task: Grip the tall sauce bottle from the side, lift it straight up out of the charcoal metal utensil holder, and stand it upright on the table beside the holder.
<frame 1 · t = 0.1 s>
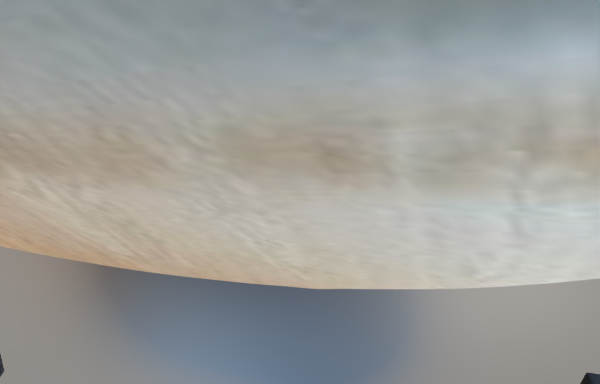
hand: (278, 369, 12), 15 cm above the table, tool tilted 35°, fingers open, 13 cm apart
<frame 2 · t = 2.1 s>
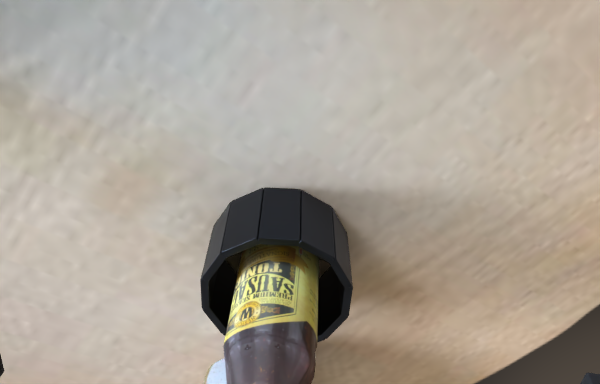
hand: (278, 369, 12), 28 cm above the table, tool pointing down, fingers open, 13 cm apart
ceramic mug: (268, 367, 55), on the table
utensil holder: (279, 244, 46), on the table
sauce bottle: (279, 242, 47), resting in utensil holder
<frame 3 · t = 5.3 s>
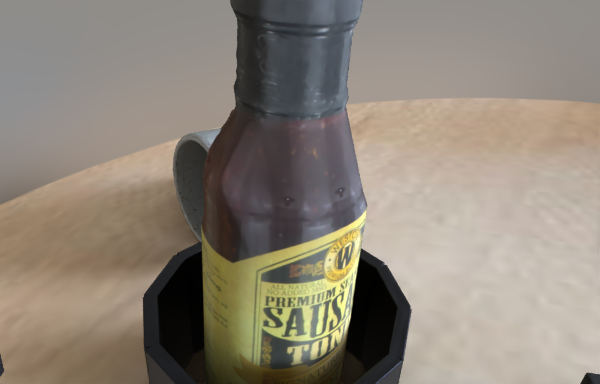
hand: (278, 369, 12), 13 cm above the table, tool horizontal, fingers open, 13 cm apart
ceramic mug: (237, 219, 40), on the table
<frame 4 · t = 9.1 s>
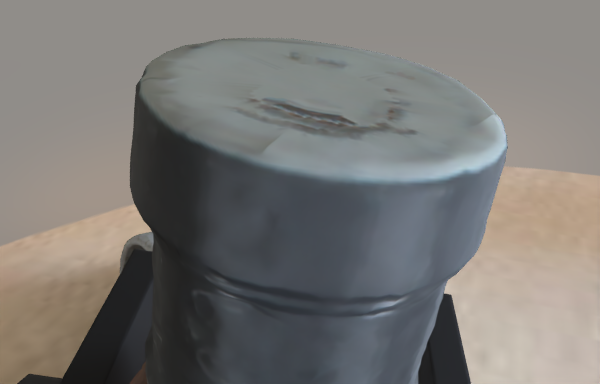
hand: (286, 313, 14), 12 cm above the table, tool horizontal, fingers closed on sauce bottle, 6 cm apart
ceramic mug: (207, 339, 29), on the table
when the fingers open (12 cm above the table, at t = 17.7 s): sauce bottle stays where it is, on the table.
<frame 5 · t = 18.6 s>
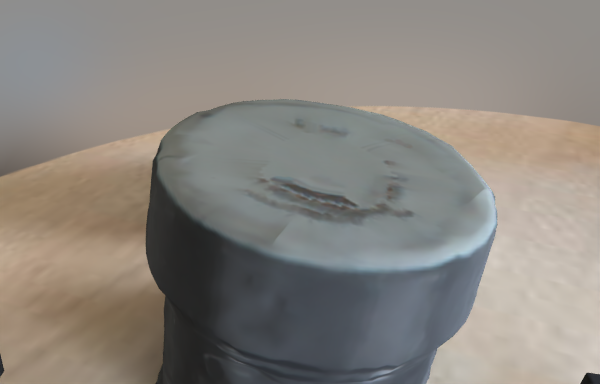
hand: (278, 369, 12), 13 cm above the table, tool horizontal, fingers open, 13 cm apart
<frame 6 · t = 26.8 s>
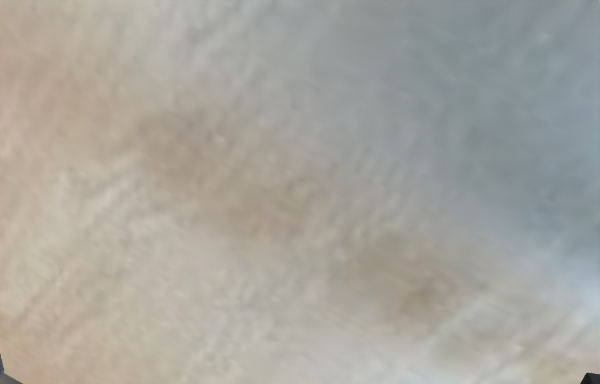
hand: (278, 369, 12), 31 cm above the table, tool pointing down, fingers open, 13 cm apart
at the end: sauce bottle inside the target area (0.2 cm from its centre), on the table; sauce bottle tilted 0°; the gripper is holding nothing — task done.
